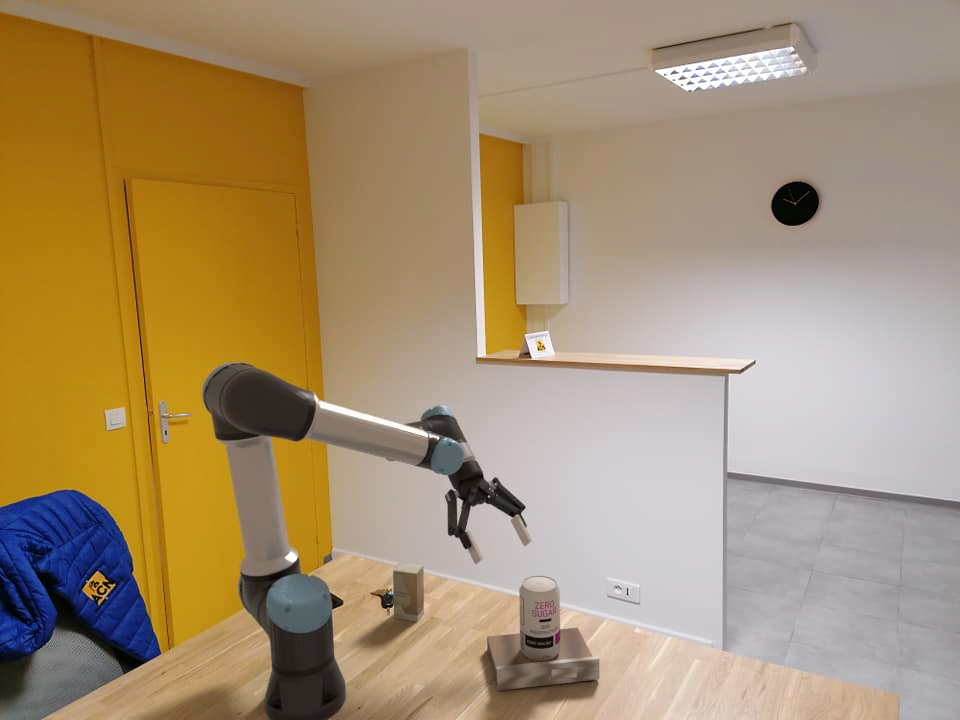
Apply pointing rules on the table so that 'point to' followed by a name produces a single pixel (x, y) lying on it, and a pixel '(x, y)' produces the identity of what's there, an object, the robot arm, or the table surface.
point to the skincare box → (408, 591)
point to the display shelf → (541, 662)
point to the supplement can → (539, 618)
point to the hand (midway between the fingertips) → (504, 552)
